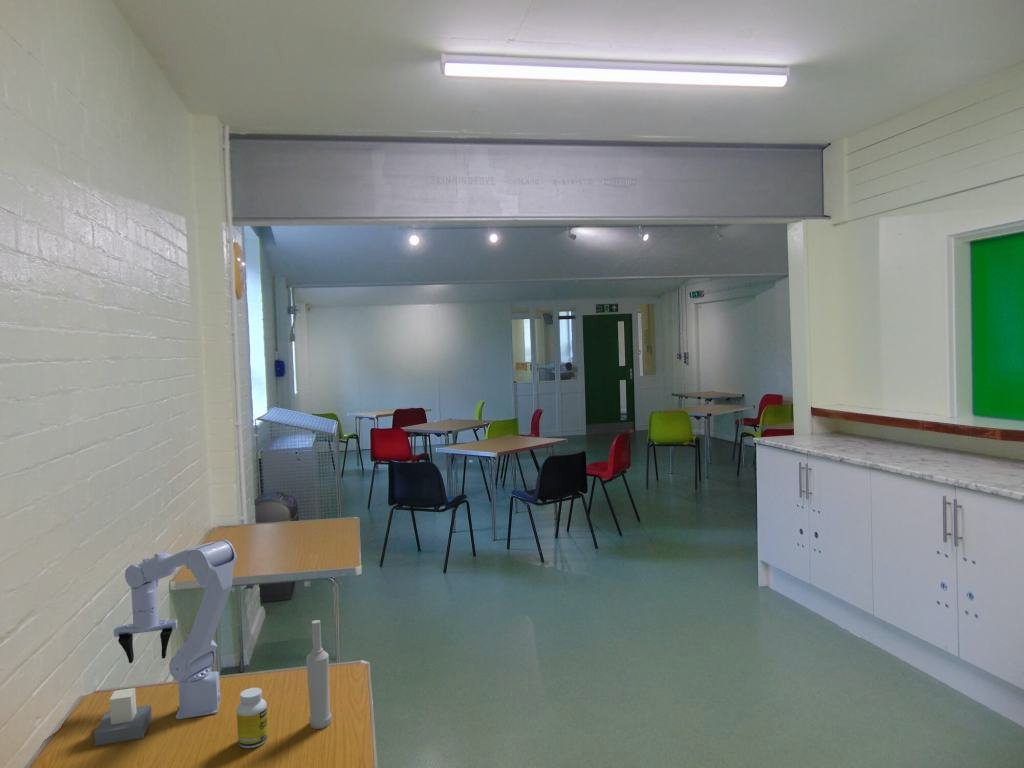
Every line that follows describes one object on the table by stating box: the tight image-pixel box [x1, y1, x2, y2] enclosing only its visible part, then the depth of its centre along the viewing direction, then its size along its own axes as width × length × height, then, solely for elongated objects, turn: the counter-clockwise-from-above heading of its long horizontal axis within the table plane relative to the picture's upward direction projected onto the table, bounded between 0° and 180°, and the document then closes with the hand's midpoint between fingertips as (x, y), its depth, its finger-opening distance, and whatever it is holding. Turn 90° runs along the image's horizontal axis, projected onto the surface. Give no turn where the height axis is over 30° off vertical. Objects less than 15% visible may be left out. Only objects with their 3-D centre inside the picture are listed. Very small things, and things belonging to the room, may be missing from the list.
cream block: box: [108, 687, 137, 725], centre depth 170 cm, size 4×4×6 cm
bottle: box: [305, 619, 332, 730], centre depth 170 cm, size 5×5×25 cm
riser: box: [93, 704, 153, 747], centre depth 170 cm, size 10×10×3 cm
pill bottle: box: [236, 687, 269, 749], centre depth 163 cm, size 6×6×12 cm
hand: (147, 659), depth 185 cm, fingers open, 7 cm apart
